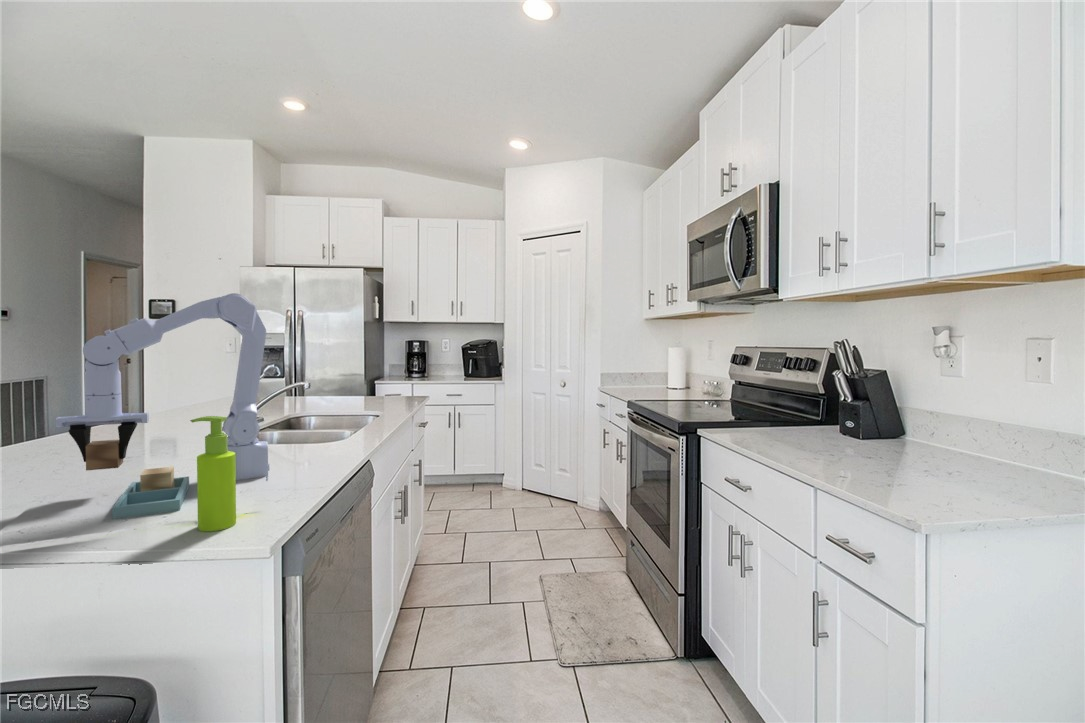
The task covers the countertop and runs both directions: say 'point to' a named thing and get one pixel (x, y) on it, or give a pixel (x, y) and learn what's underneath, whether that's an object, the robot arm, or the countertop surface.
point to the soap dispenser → (216, 480)
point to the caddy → (150, 499)
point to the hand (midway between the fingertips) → (105, 459)
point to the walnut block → (103, 455)
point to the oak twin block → (157, 479)
